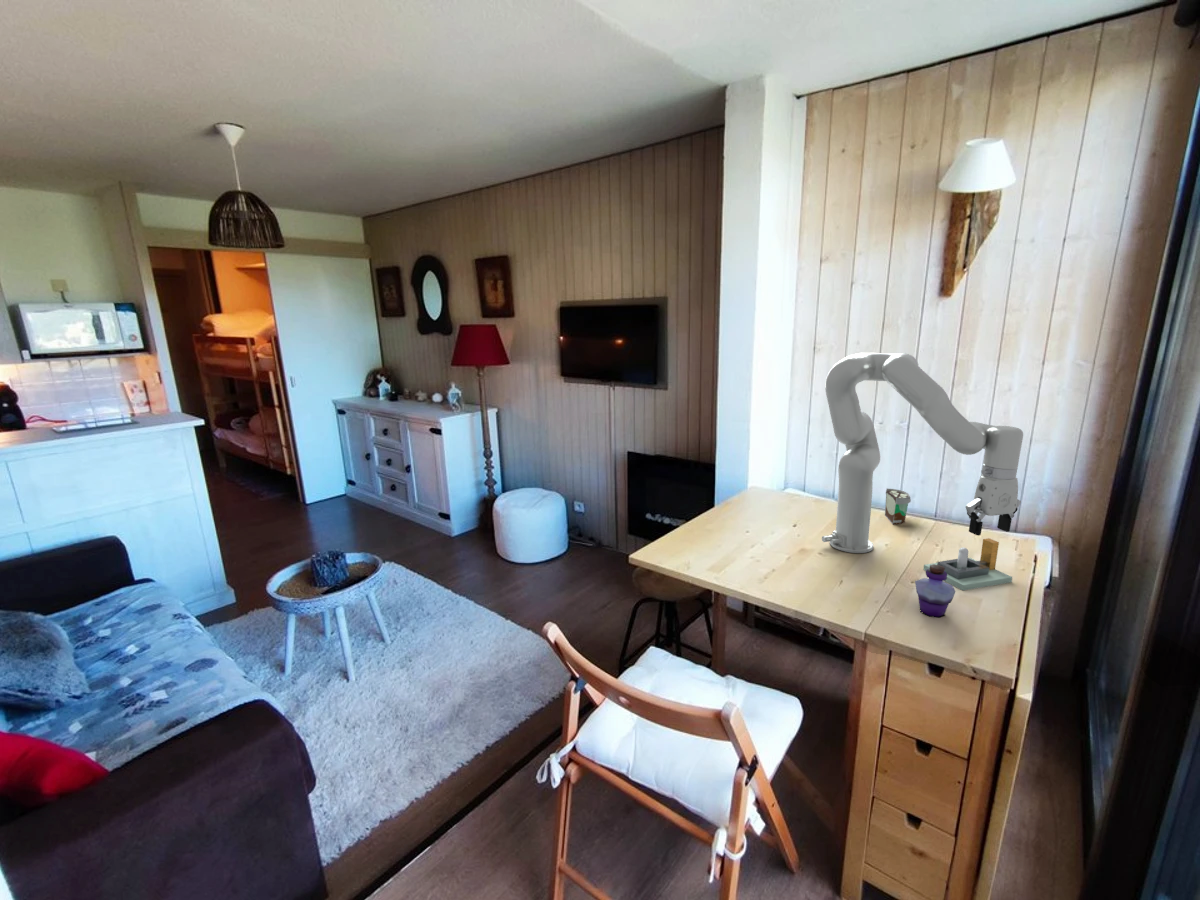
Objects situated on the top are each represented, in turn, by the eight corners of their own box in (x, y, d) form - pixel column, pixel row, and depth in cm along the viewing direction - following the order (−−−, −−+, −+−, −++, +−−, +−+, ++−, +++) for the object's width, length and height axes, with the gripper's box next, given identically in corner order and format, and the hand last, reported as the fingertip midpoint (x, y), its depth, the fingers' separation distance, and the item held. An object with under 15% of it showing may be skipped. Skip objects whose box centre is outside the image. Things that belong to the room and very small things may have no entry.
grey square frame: (958, 579, 147) (961, 551, 145) (936, 568, 153) (939, 541, 151) (1001, 572, 150) (1005, 545, 148) (978, 561, 157) (982, 535, 155)
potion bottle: (937, 602, 138) (943, 558, 136) (960, 620, 130) (967, 573, 127) (904, 603, 138) (909, 559, 135) (925, 622, 130) (930, 575, 127)
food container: (913, 527, 187) (916, 499, 185) (894, 526, 189) (896, 498, 186) (901, 514, 199) (904, 488, 197) (883, 514, 200) (886, 487, 198)
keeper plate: (962, 590, 144) (966, 560, 142) (923, 569, 156) (926, 541, 154) (1011, 582, 147) (1016, 552, 145) (969, 562, 160) (973, 534, 158)
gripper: (985, 478, 141) (975, 540, 145) (1038, 473, 145) (1027, 533, 149) (960, 471, 148) (951, 530, 152) (1011, 466, 152) (1001, 523, 156)
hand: (988, 531), depth 151 cm, fingers open, 9 cm apart
